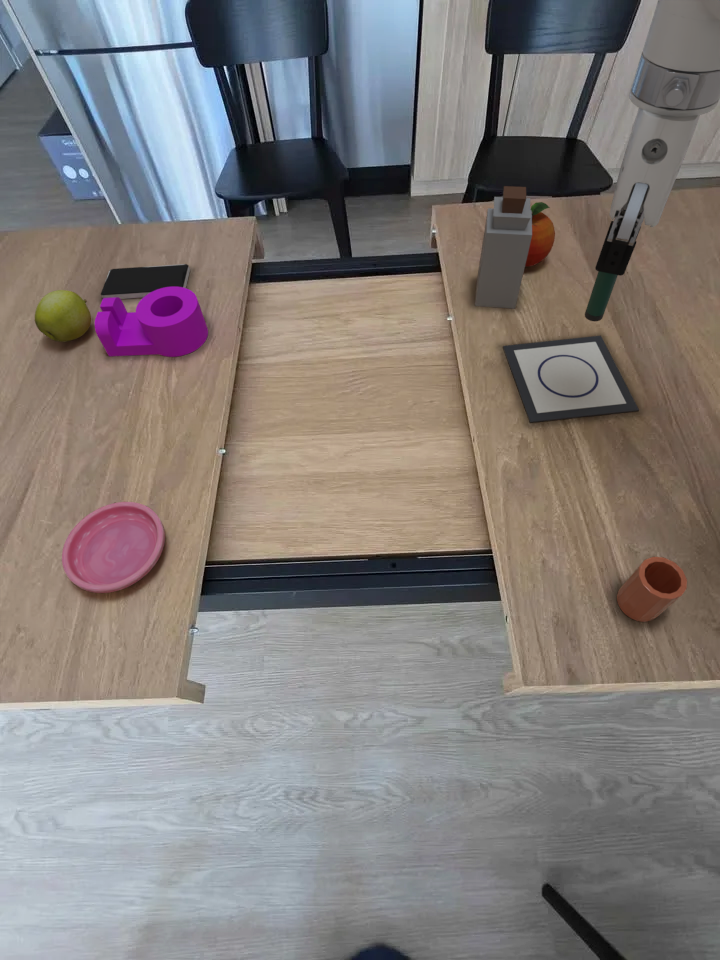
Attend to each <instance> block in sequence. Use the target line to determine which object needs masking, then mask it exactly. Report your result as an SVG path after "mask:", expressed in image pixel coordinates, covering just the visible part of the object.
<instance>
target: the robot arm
mask: <svg viewBox="0 0 720 960" xmlns="http://www.w3.org/2000/svg"><path fill="white" fill-rule="evenodd" d="M643 45H644V46H643V48H642V52H641V55H640V58H639V61H638V64H637V68H636V70H635V71H636V72H635V74H634V77H633V81H632V83H631V87H630V90H629V94H628V99H629V100H630V103H632V104H633V105H634V106H635V107H636V108H638V111H637V113H636V116H635V119H634V122H633V125H632V129H631V132H630V135H629V138H628V141H627V144H626V148H625V151H624V155H623V158H622V161H621V165H620V169H619V172H618V175H617V179H616V184H615V188H614V192H613V197H612V201H611V205H610V210H609V214H608V216H609V218H610V224H609V227H608V229H607V232H606V234H605V239H604V241H603V243H602V247H601V249H600V253H599V255H598V258H597V262H596V264H595V267H594V268H595V271H596V272H598V271H600V272H605V273H610V274H614V275H618V276H619V277H620V276H624V275H625V273H626V271H627V268H628V265H629V263H630V260H631V258H632V255H633V253H634V251H635V248H636V245H637V239H638V236H639V234H640V232H641V228H642V224H643V223H644V225H645V226H649V227H650V228H654V227H656V226H658V225H659V222H660V220H661V219H662V215H663V212H664V209H665V208H666V205H667V202H668V199H669V197H670V195H671V192H672V189H673V187H674V184H675V182H676V179H677V177H678V175H679V172H680V170H681V167H682V165H683V162H684V160H685V158H686V155H687V153H688V150H689V148H690V144H691V142H692V139H693V136H694V134H695V131H696V128H697V125H698V123H699V119H700V116H702V115H705V114H708V113H710V112H712V111H713V110H715V109H716V107H717V106H718V104H719V101H720V0H657V3H656V6H655V9H654V12H653V16H652V19H651V23H650V26H649V28H648V32H647V36H646V39H645V42H644V44H643ZM619 221H622V223H621V225H618V223H619ZM634 224H636V225H635V227H634Z"/></svg>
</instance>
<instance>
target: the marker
mask: <svg viewBox="0 0 720 960" xmlns="http://www.w3.org/2000/svg"><path fill="white" fill-rule="evenodd" d="M621 223H622V221H619V223H618V225H621ZM635 225H636V224H634V227H635ZM618 276H619V275H614V274H610V273H605V272H600V271H597V275H596V278H595V281H594V284H593V287H592V290H591V293H590V297H589V300H588V303H587V305H586V309H585V312H584V317H585V319H586V320H588V321H590V322H600V321H602V320H603V318H604V315H605V313H606V309H607V306H608V304H609V301H610V297H611V295H612V292H613V290H614V287H615V284H616V281H617V279H618Z"/></svg>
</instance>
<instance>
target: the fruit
mask: <svg viewBox="0 0 720 960" xmlns="http://www.w3.org/2000/svg"><path fill="white" fill-rule="evenodd" d="M547 209H551V207H550V206H549V205H548V204H547V203H545V202H543V201H539V202H537V201H536V202H535V203H534V204H532V205H530V210H532V238H531V242H530V247H529V251H528V255H527V260H526V264H525V268H526V267H527V268H529V267H534V266H536V265H537V264H539V263H540V262H543V261H544V260H545V259H546V257H548V255H549V254H550V253H551V251H552V249H553V247H554V243H555V239H556V238H555V237H556V230H555V226H554V222H553V221H552V220H551V218H550V217H549V216H548V215H546V214H545V213H544V210H547ZM542 211H543V212H542Z"/></svg>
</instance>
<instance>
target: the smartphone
mask: <svg viewBox="0 0 720 960" xmlns="http://www.w3.org/2000/svg"><path fill="white" fill-rule="evenodd" d="M108 270H109V271H108V274H107V276H106V278H105V281H104V284H103V287H102V290H101V292H100V296H101V298H102V299H103V298H112V297H119V298H120V299H121V300H123V299H125V300H126V299H140V298H141V299H142V298H143V297H145V296H146V295H147V294H149V293H151V292H153V291H155V290H157V289H161V288H165V287H174V286H175V287H183V288H187V284H188V281H189V277H190V272H191V268H190V266H189V264H187V263H181V264H180V263H179V264H166V265H153V266H152V265H151V266H136V267H134V266H133V267H120V268H112V269H111V268H110V269H108Z"/></svg>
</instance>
